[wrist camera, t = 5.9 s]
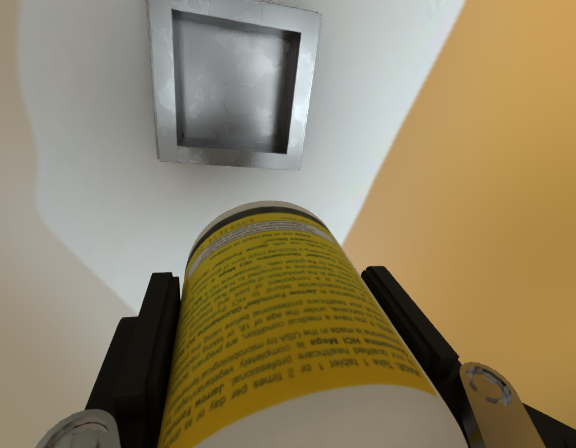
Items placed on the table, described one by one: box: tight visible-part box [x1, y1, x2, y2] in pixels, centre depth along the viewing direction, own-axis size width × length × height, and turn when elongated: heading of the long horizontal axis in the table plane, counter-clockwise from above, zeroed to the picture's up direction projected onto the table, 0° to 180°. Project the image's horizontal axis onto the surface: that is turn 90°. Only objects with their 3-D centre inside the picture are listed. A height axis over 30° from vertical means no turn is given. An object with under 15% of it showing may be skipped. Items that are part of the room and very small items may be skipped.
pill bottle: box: [157, 201, 468, 448], centre depth 8 cm, size 6×6×11 cm
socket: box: [146, 0, 322, 170], centre depth 22 cm, size 12×12×4 cm
